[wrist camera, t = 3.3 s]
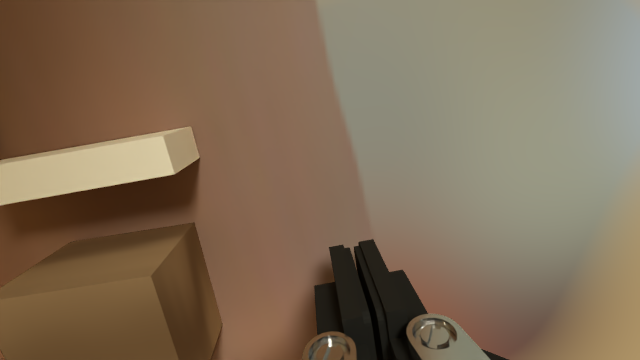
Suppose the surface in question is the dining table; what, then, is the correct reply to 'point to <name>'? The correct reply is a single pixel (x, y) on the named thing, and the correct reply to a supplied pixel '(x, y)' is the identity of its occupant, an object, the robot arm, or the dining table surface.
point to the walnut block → (114, 301)
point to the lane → (96, 165)
